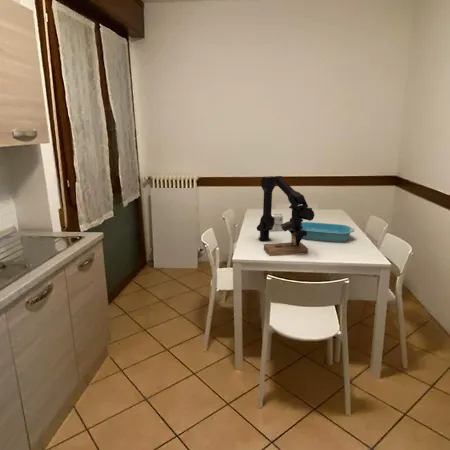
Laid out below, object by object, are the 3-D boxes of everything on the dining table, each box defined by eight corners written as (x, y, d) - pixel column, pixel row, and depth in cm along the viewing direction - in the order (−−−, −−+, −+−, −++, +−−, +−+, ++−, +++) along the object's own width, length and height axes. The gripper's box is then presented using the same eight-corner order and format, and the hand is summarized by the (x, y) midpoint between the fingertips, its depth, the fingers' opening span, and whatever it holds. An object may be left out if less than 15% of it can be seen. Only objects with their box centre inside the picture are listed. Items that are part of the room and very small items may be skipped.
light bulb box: (281, 228, 254) (281, 213, 251) (282, 231, 247) (283, 215, 245) (265, 229, 254) (265, 213, 251) (267, 231, 247) (267, 216, 244)
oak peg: (290, 249, 210) (290, 232, 208) (298, 249, 211) (298, 232, 208) (292, 252, 206) (293, 235, 203) (300, 251, 206) (301, 234, 204)
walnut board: (263, 249, 212) (263, 244, 211) (300, 246, 215) (300, 241, 214) (269, 256, 200) (269, 250, 200) (307, 253, 203) (308, 248, 203)
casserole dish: (354, 235, 237) (354, 224, 235) (353, 245, 217) (354, 233, 215) (296, 230, 249) (297, 220, 247) (291, 239, 229) (291, 229, 227)
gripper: (277, 214, 211) (277, 239, 215) (288, 222, 193) (287, 250, 197) (296, 213, 213) (295, 238, 217) (308, 221, 195) (306, 248, 199)
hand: (295, 243), depth 207 cm, fingers closed on oak peg, 5 cm apart
